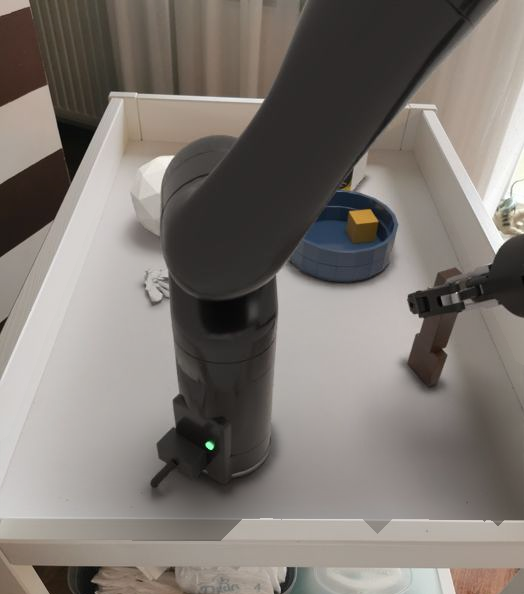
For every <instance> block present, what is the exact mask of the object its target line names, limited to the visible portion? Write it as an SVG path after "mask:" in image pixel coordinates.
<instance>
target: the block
mask: <svg viewBox="0 0 524 594" xmlns="http://www.w3.org/2000/svg"><path fill="white" fill-rule="evenodd" d="M377 227H378V220H377V218H376V217H375V215H374V214H373V212H372V211H371V209H367V210H357V211H349V214H348V220H347V227H346V232H347V233H348V235H349V237H350V239H351V241H352V242H353V244H354V243H363V242H372V241H375V238H376V232H377Z"/></svg>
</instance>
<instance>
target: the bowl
mask: <svg viewBox="0 0 524 594" xmlns="http://www.w3.org/2000/svg"><path fill="white" fill-rule="evenodd" d="M367 209H371V211H372V212H373V214H374V215H375V217H376V218H377V220H378V227H377V232H376V238H375V241H372V242H363V243H354V244H353V242H352V241H351V239H350V237H349V235H348V233H347V232H346V227H347V220H348V214H349V211H357V210H367ZM398 229H399V222H398V219H397V216H396V214H395V213H394V212H393V211H392V209H391V208H390V207H389V206H388V205H387V204H385V203H384V202H382V201H381V200H379V199H377V198H375V197H373V196H370V195H368V194H364V193H363V192H358V191H354V190H353V191H348V190H337V191H336V192H335V194H334V195H333V197H332V198H331V200H330V201H329V202H328V204H327V205H326V207H325V208H324V210H323V211H322V212H321V214H320V215H319V217H318V218H317V220H316V221H315V223H314V224H313V225H312V227H311V228H310V230H309V231H308V233H307V234H306V235H305V237H304V238H303V240H302V241H301V243H300V244H299V246H298V247H297V248H296V250H295V251H294V253H293V254H292V255H291V257H290V258H289V260H288V261H290V262H291V263H292V264H293V265H294V266H295V267H296V268H297V269H299V270H300V271H301V272H303V273H305V274H307V275H309V276H311V277H314V278H316V279H320V280H323V281H327V282H336V283H352V282H353V283H354V282H358V281H359V282H360V281H363V280H367V279H369V278H372V277H374V276H376V275H377V274H378V273H380V272H382V271H383V270H384V269H385V268H386V267H387V266H388V265H389V263H390V262H391V260H392V255H393V251H394V247H395V242H396V239H397V233H398Z"/></svg>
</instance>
